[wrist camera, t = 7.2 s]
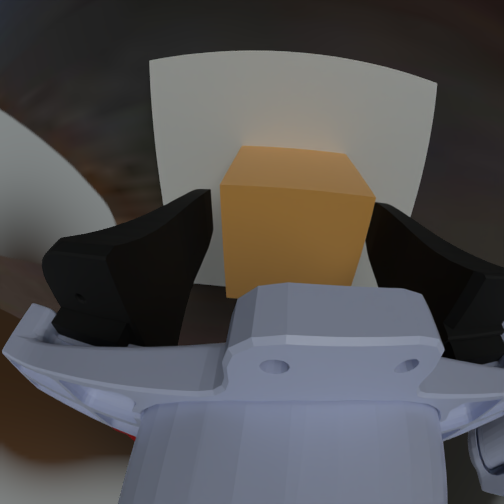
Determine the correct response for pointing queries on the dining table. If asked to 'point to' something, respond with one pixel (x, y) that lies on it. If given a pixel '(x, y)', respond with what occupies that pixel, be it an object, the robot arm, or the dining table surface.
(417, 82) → the plate
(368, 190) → the tilted mustard cube
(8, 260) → the dining table surface
